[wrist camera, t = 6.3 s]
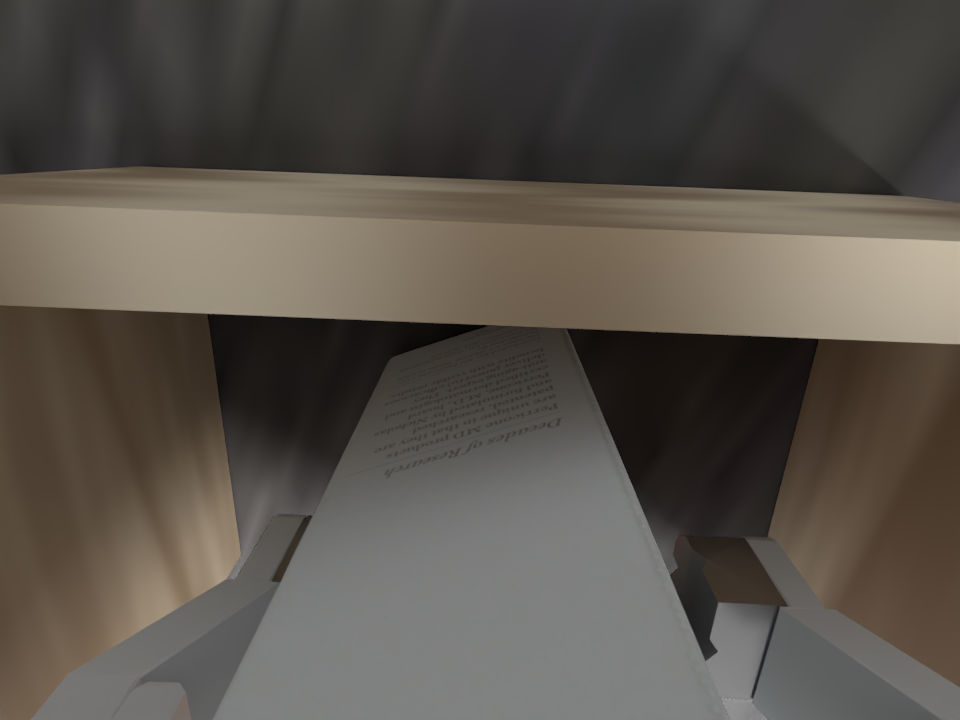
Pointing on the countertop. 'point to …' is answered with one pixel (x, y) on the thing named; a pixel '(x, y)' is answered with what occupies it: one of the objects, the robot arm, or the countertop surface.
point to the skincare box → (477, 559)
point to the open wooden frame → (455, 300)
